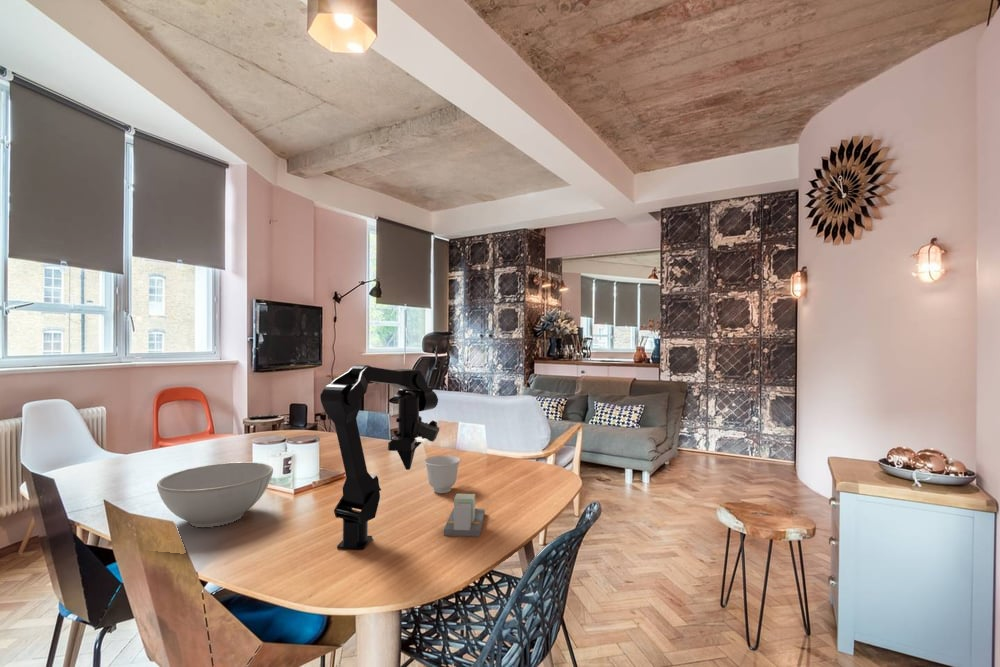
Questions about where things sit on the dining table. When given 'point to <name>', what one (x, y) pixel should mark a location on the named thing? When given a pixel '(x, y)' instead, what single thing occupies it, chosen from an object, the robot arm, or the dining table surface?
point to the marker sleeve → (466, 502)
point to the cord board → (465, 533)
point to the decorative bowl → (214, 491)
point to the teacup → (442, 472)
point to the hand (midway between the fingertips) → (408, 469)
